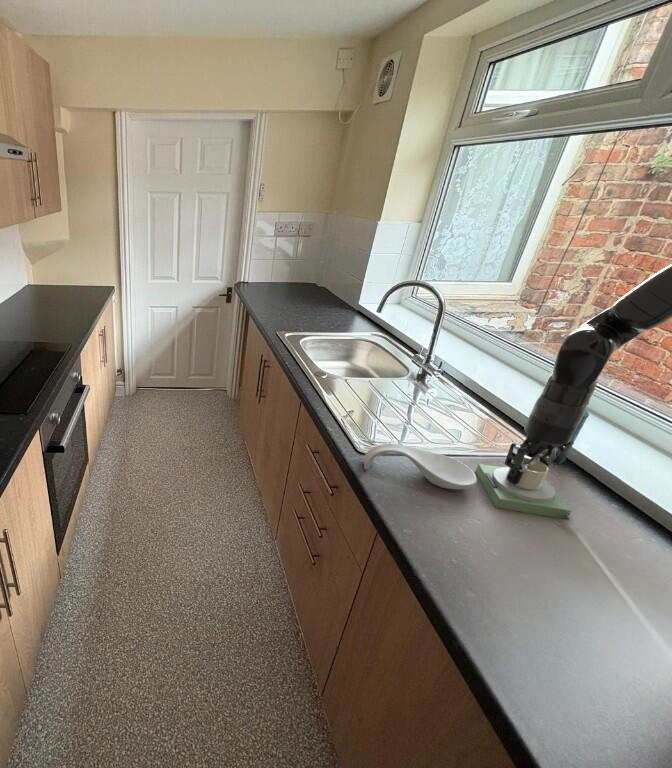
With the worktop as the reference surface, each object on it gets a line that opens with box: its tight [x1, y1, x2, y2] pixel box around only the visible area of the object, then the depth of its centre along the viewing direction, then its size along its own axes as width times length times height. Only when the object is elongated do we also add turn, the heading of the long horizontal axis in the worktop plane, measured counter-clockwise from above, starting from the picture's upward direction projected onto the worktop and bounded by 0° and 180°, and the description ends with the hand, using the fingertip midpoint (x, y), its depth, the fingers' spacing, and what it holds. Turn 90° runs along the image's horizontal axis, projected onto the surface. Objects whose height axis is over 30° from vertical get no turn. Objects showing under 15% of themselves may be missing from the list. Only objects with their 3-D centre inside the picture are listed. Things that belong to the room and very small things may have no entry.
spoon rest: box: [363, 443, 478, 490], centre depth 101 cm, size 24×12×7 cm, turn 70°
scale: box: [474, 463, 572, 520], centre depth 95 cm, size 13×13×4 cm
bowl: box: [506, 455, 550, 490], centre depth 94 cm, size 6×6×5 cm
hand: (524, 479), depth 94 cm, fingers closed on bowl, 6 cm apart
